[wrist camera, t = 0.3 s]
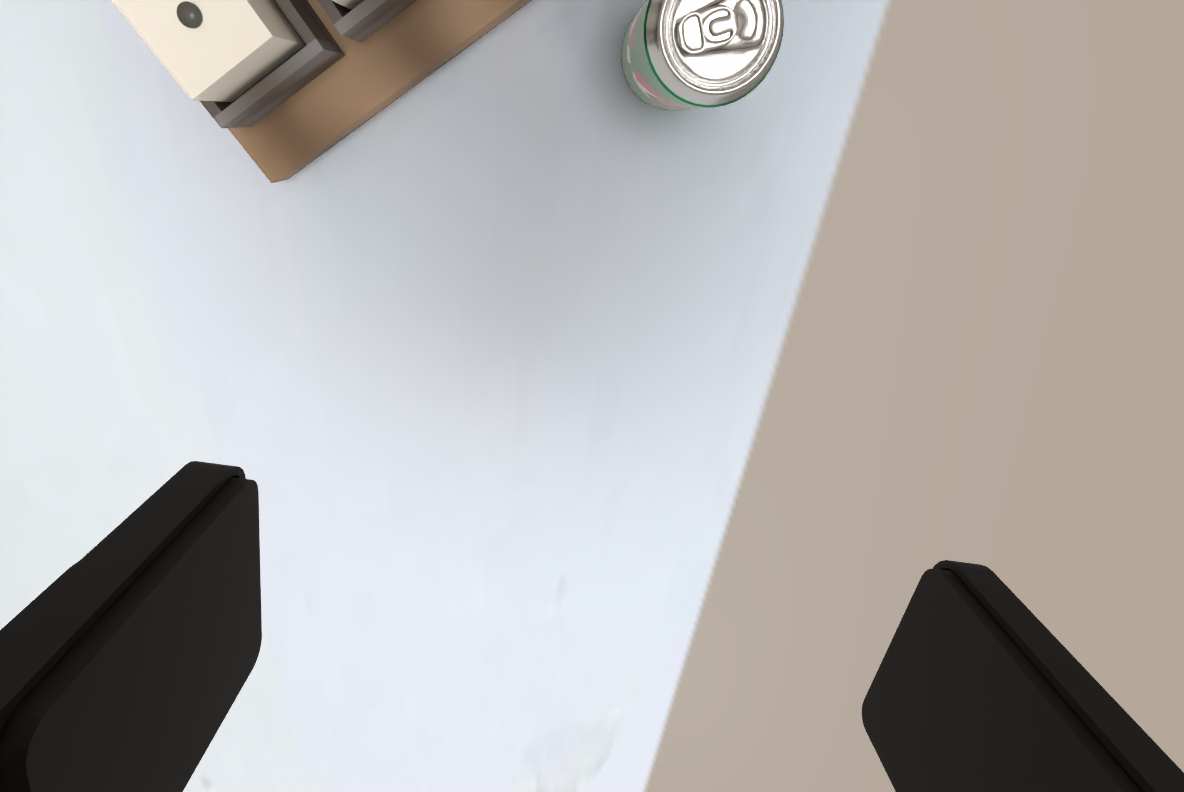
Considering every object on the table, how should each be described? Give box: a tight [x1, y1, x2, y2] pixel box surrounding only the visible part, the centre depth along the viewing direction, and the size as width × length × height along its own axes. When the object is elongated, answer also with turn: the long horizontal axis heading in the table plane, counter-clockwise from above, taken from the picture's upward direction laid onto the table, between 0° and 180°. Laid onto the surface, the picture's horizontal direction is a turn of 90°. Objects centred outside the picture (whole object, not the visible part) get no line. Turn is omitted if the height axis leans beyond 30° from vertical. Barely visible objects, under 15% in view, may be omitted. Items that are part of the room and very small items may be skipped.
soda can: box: [622, 0, 784, 110], centre depth 28 cm, size 5×5×12 cm
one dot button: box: [112, 0, 305, 102], centre depth 27 cm, size 4×4×4 cm
